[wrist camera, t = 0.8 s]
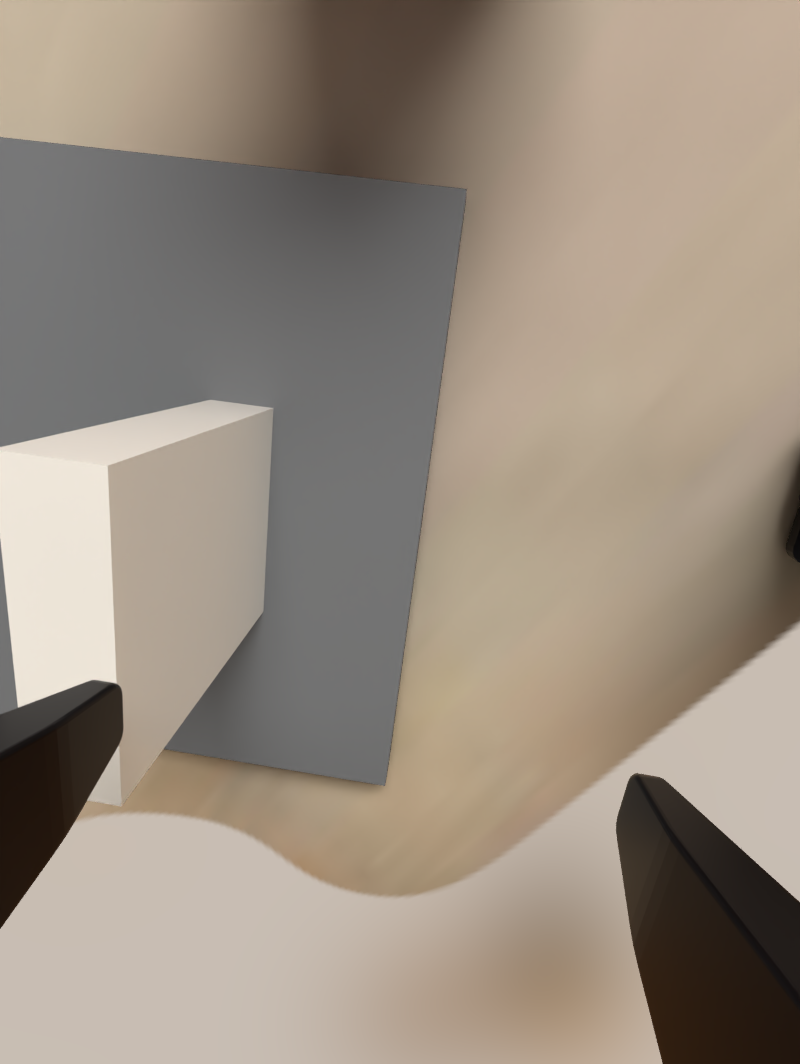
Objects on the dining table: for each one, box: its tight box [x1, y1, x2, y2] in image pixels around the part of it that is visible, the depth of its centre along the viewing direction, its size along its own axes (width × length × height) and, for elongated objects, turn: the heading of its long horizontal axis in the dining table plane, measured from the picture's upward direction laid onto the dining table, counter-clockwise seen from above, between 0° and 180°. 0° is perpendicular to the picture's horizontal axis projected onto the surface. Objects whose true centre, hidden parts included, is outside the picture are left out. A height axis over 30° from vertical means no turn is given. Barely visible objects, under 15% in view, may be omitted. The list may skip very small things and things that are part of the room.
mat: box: [0, 137, 467, 786], centre depth 20 cm, size 20×20×1 cm
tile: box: [0, 400, 273, 806], centre depth 15 cm, size 2×7×9 cm, turn 173°
